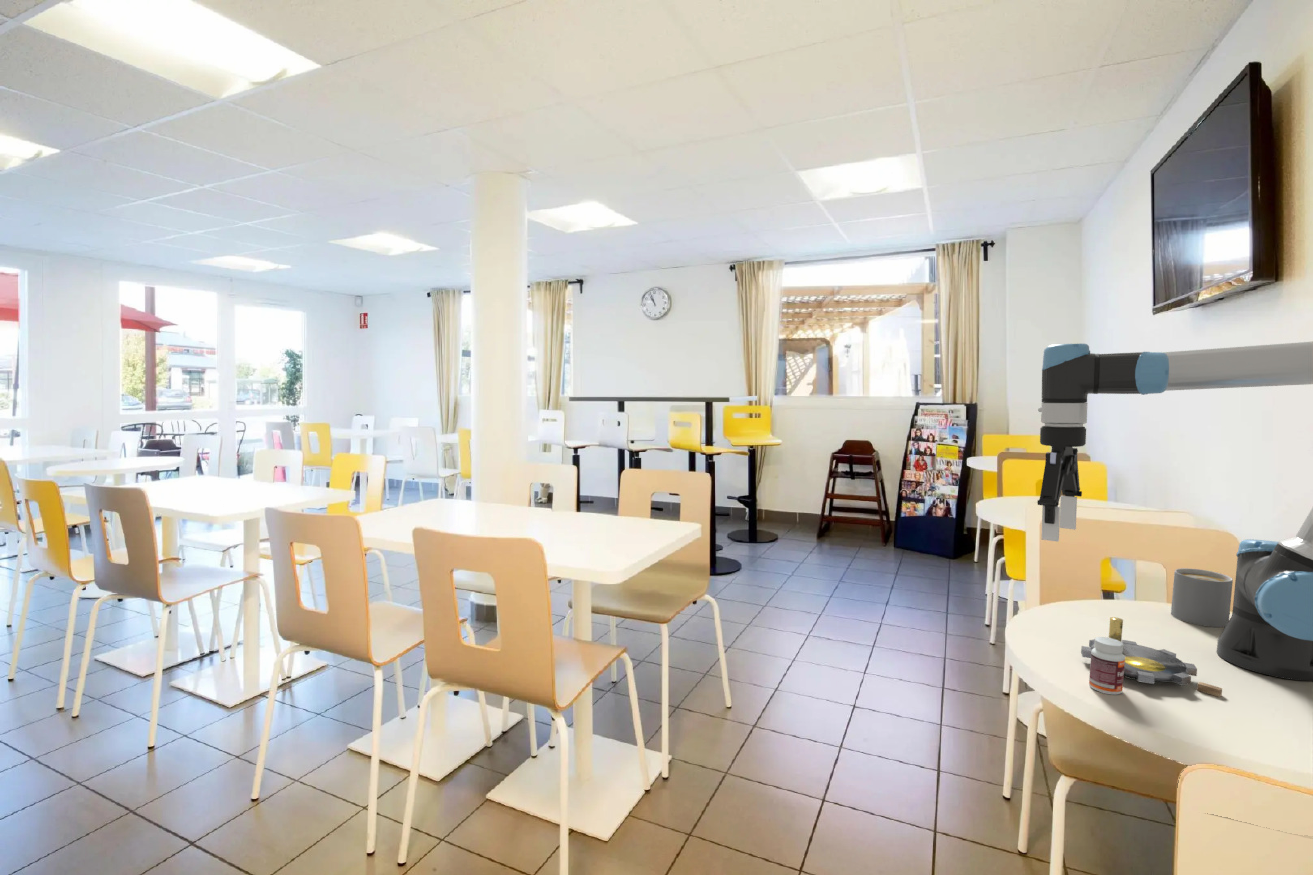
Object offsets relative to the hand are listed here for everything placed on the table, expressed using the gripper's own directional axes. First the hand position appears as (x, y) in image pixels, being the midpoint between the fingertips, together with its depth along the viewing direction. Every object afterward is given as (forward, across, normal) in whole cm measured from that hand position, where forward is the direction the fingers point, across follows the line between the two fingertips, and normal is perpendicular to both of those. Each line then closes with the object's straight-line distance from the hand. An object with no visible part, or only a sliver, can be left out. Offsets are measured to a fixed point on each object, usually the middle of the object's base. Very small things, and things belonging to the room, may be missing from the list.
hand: (1059, 534), depth 129 cm
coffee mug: (+23, -42, +19) cm, 52 cm away
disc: (+21, +2, +13) cm, 25 cm away
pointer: (+23, +4, +24) cm, 33 cm away
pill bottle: (+23, +14, +11) cm, 29 cm away
